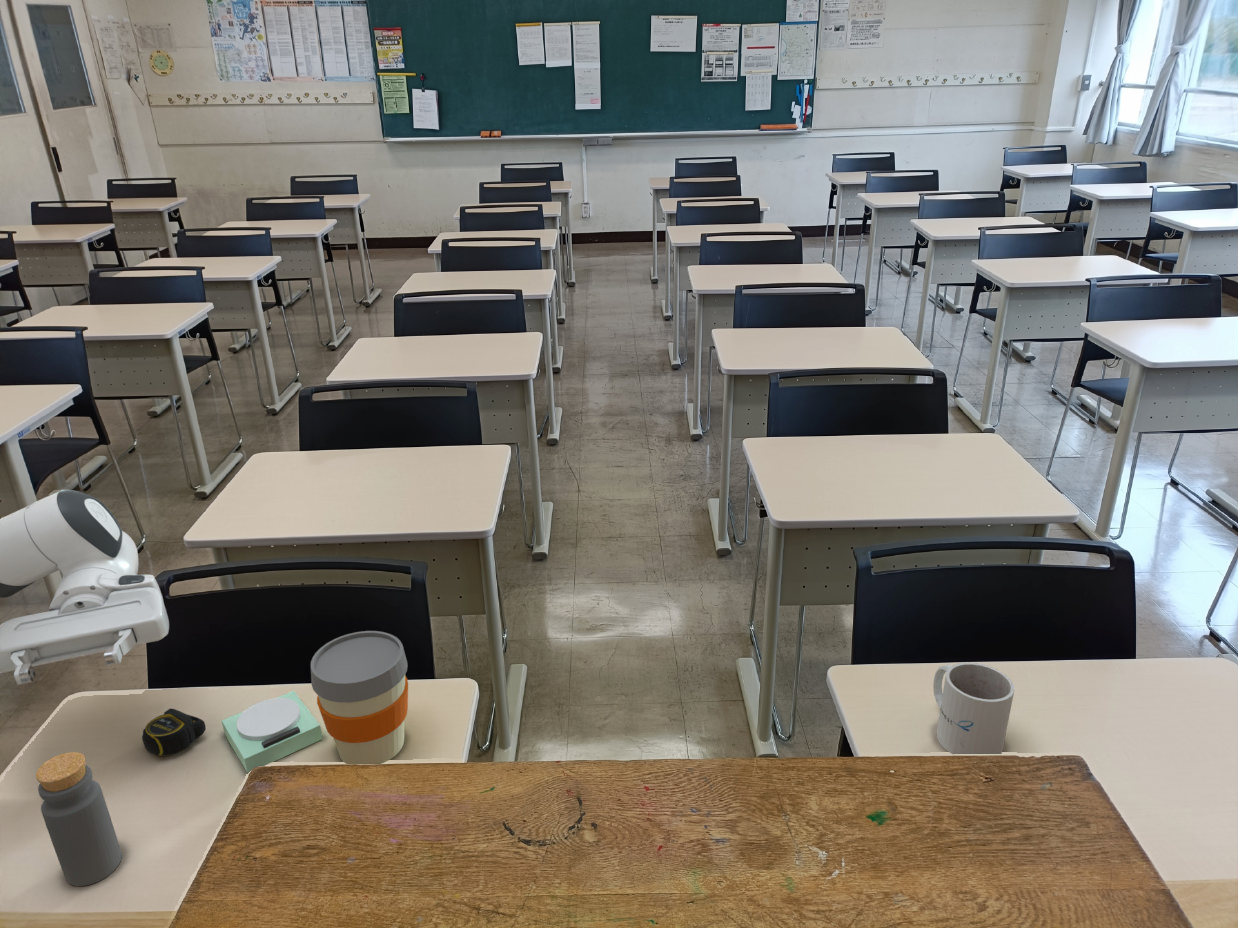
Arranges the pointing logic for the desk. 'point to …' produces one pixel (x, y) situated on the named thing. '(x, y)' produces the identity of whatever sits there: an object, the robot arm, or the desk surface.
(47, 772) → the bottle
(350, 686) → the reusable coffee cup
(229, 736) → the scale
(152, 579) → the robot arm
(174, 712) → the tape measure
